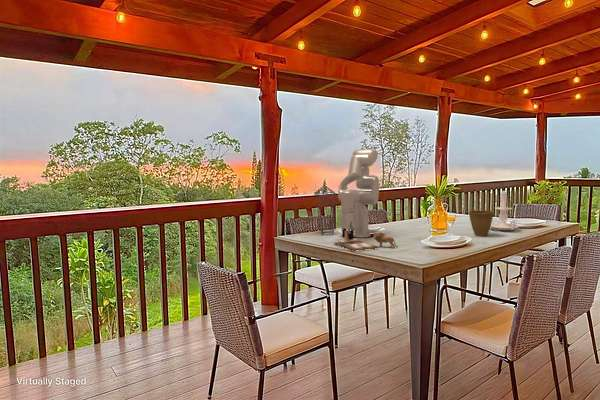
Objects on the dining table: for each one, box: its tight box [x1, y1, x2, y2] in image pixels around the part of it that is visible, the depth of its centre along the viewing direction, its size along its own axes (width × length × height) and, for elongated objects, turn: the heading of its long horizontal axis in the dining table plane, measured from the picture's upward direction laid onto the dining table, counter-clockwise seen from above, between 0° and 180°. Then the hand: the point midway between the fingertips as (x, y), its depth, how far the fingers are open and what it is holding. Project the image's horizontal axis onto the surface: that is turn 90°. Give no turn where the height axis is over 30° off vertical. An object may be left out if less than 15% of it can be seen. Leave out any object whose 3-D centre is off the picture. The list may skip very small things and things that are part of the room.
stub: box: [337, 229, 359, 243], centre depth 257 cm, size 12×5×7 cm, turn 113°
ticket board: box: [334, 239, 379, 252], centre depth 249 cm, size 16×24×2 cm, turn 23°
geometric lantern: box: [313, 185, 337, 236], centre depth 293 cm, size 16×16×35 cm
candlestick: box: [490, 190, 520, 232], centre depth 285 cm, size 21×25×28 cm
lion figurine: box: [373, 232, 399, 249], centre depth 244 cm, size 15×5×9 cm, turn 68°
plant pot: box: [468, 210, 494, 237], centre depth 271 cm, size 15×15×16 cm
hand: (347, 238), depth 257 cm, fingers open, 7 cm apart
